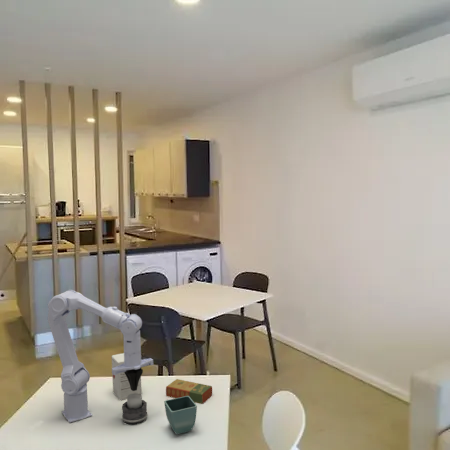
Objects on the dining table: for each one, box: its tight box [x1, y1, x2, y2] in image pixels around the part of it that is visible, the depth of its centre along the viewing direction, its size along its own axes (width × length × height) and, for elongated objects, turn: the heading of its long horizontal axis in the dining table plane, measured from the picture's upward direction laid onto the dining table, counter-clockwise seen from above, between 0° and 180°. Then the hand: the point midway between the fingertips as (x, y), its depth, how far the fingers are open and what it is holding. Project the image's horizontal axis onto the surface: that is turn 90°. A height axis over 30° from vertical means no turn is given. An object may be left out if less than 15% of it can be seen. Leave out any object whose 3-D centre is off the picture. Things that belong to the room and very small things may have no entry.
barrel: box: [121, 399, 148, 426], centre depth 156 cm, size 8×8×5 cm
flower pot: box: [163, 396, 198, 435], centre depth 148 cm, size 9×9×9 cm
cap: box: [126, 393, 143, 409], centre depth 155 cm, size 5×5×4 cm
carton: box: [165, 378, 213, 405], centre depth 173 cm, size 8×16×4 cm, turn 64°
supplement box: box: [111, 352, 143, 401], centre depth 175 cm, size 9×9×15 cm
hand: (133, 389), depth 155 cm, fingers closed
